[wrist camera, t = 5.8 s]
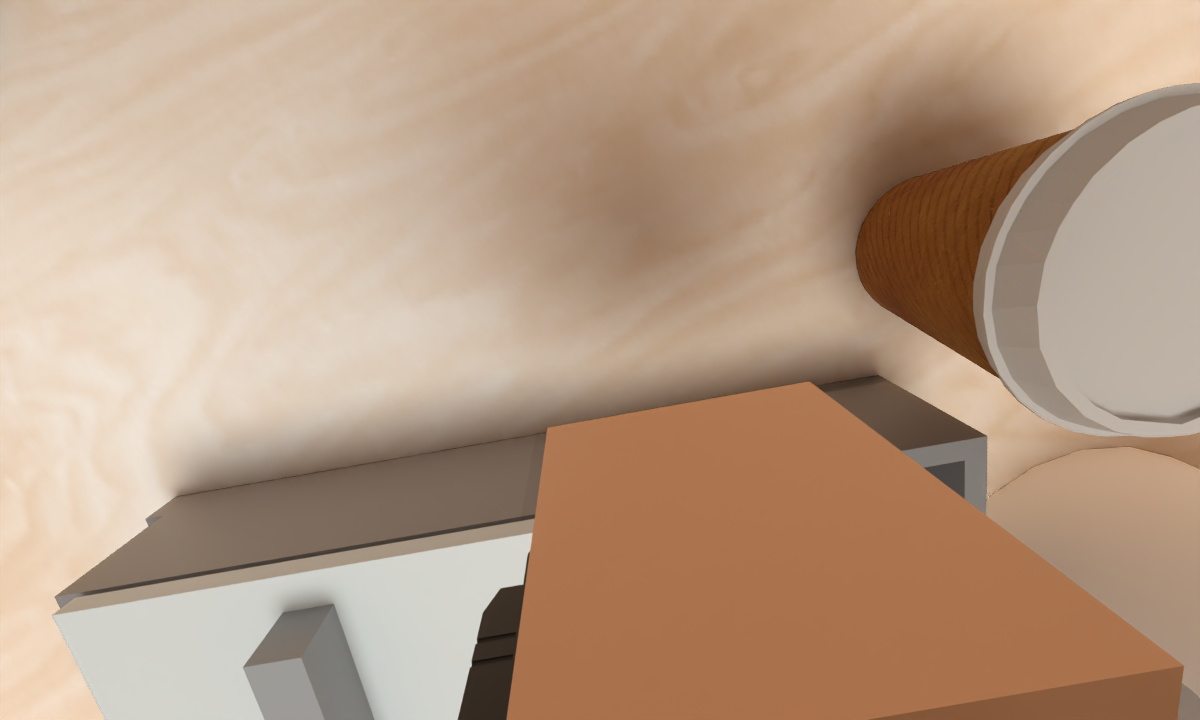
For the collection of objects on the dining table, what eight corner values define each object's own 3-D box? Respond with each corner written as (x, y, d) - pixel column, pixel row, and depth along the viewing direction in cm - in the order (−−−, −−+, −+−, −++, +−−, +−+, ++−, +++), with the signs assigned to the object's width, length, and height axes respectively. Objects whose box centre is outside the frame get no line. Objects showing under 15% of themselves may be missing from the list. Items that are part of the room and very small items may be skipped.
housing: (175, 497, 28) (32, 600, 20) (878, 375, 27) (987, 436, 20) (255, 689, 31) (156, 838, 23) (886, 582, 30) (983, 699, 23)
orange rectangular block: (547, 427, 9) (476, 939, 3) (809, 381, 9) (1352, 792, 3) (604, 694, 11) (644, 1439, 4) (830, 655, 11) (1218, 1347, 4)
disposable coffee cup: (801, 338, 27) (973, 440, 15) (845, 122, 24) (1089, 46, 13) (993, 356, 27) (1299, 467, 16) (1054, 148, 25) (1471, 97, 13)
